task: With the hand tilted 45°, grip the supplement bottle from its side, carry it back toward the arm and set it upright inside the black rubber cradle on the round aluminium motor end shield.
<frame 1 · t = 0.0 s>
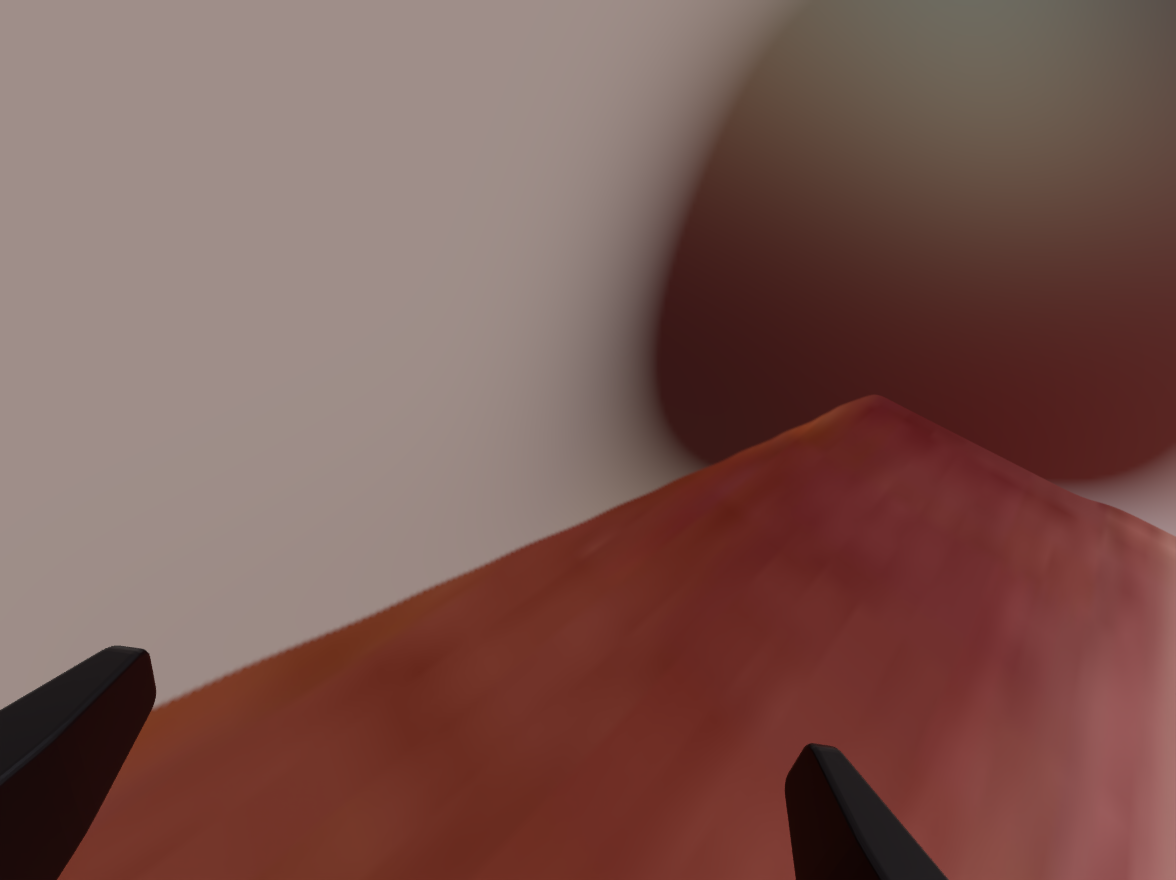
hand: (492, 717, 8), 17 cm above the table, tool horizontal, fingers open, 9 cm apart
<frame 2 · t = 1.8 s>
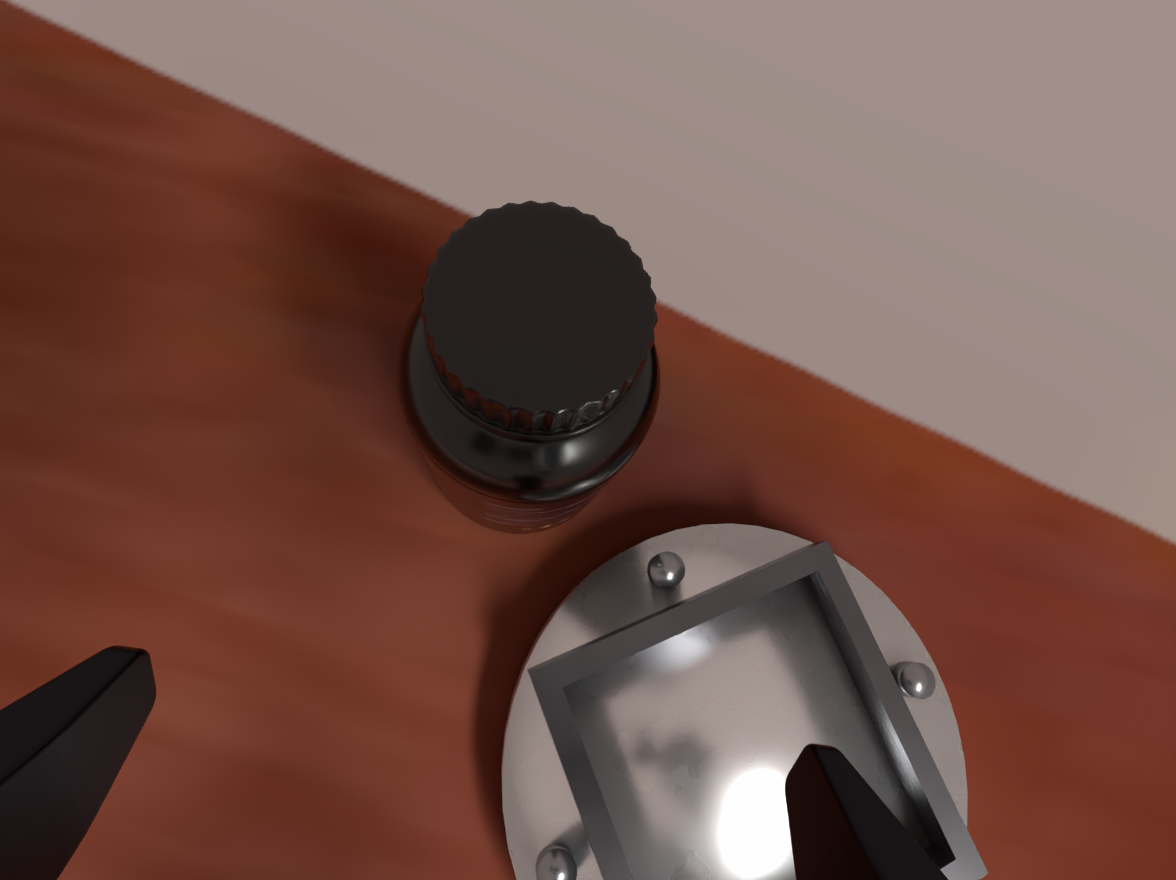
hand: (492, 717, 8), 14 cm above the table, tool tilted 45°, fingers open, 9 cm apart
motor end shield: (729, 755, 22), on the table
supplement bottle: (519, 451, 24), on the table
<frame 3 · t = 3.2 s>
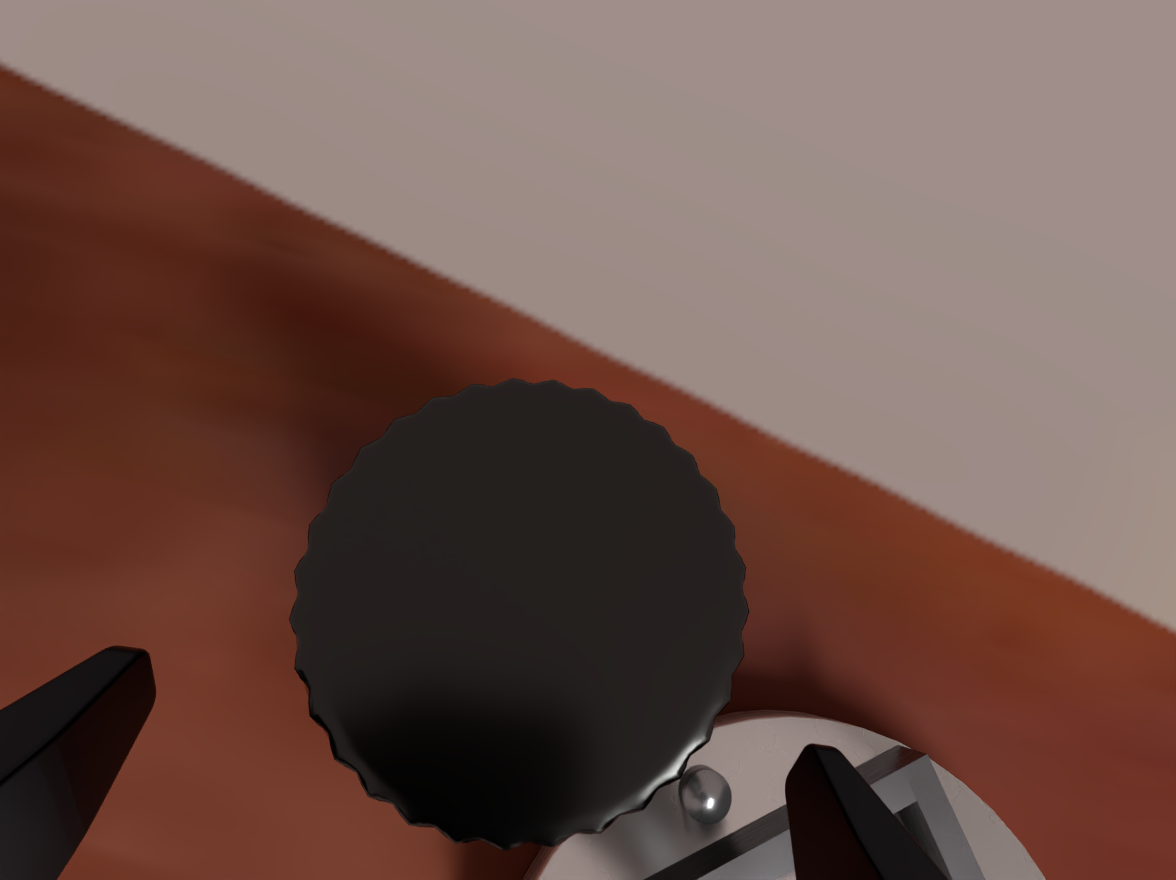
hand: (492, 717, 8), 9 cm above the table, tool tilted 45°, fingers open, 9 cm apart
supplement bottle: (507, 601, 18), on the table
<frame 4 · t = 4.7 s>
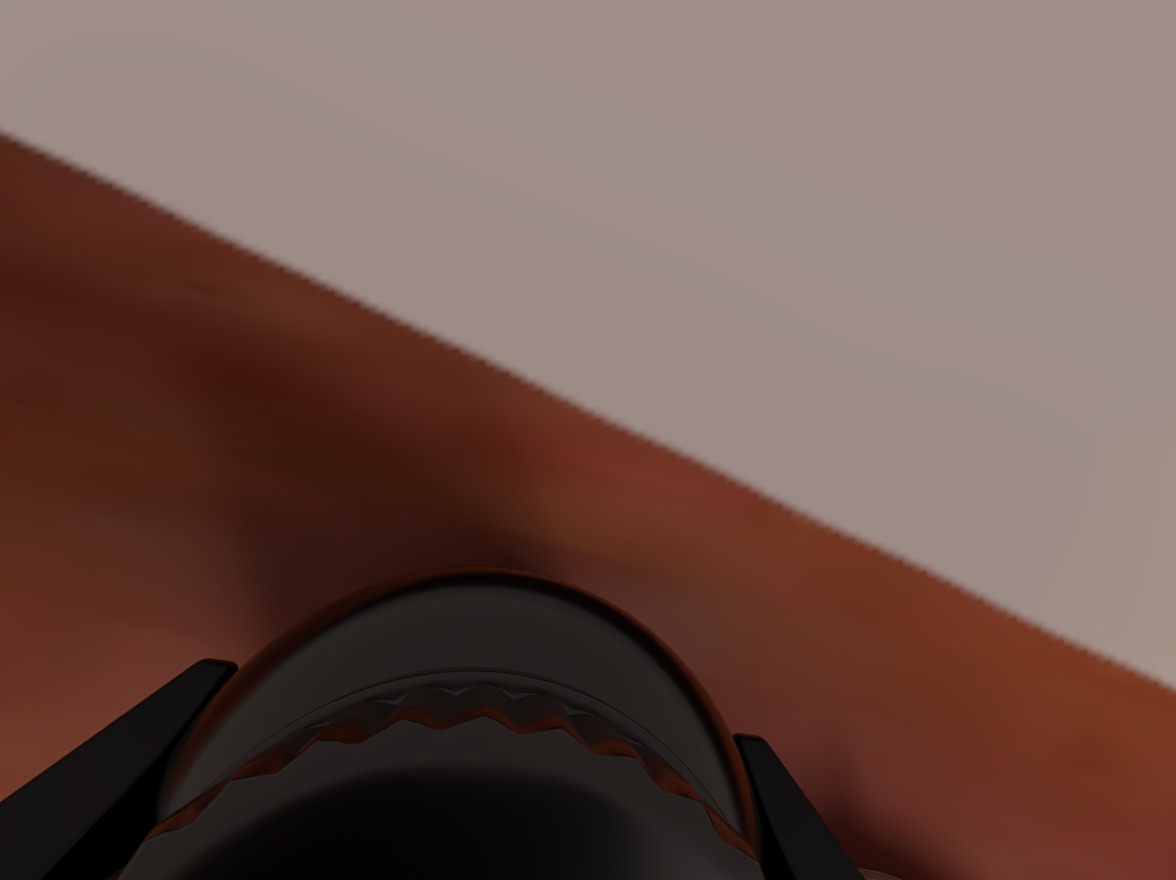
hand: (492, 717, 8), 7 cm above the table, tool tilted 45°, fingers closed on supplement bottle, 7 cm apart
supplement bottle: (479, 732, 14), on the table, touching gripper
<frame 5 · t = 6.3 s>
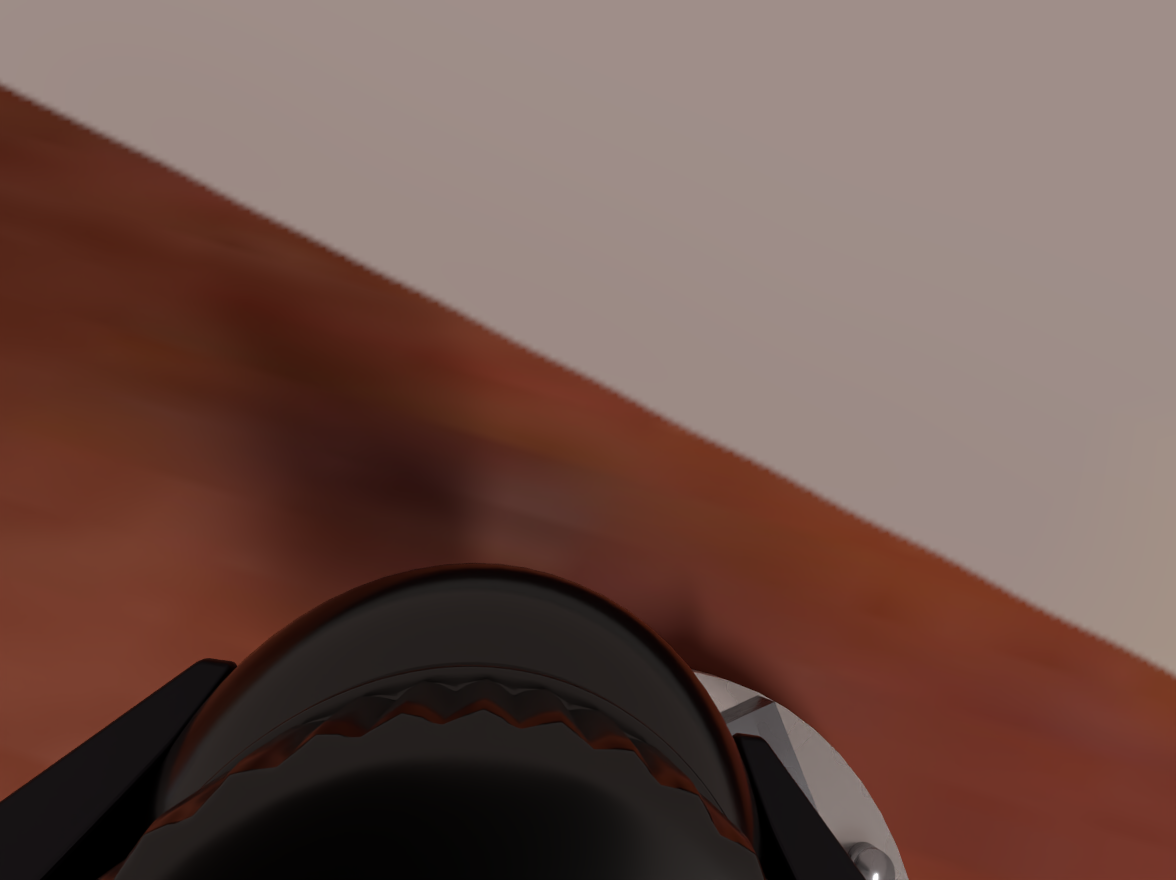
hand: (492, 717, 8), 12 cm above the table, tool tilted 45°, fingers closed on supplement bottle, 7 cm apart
supplement bottle: (478, 729, 15), point 5 cm above the table, touching gripper
when the fingers open (9 cm above the table, at t = 8.2 s): supplement bottle stays where it is, resting on motor end shield.
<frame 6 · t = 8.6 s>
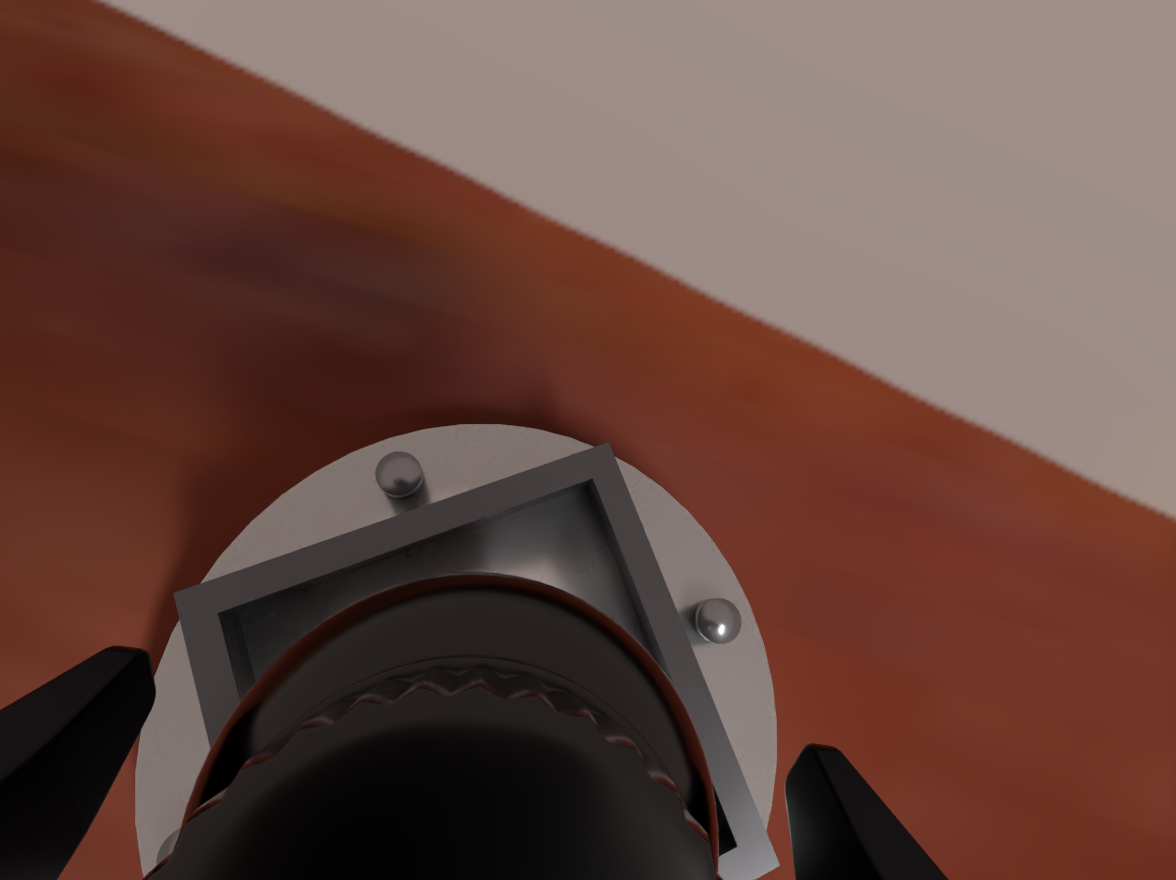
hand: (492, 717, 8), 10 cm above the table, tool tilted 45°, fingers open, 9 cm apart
motor end shield: (482, 712, 17), on the table
supplement bottle: (478, 721, 16), point 1 cm above the table, touching motor end shield
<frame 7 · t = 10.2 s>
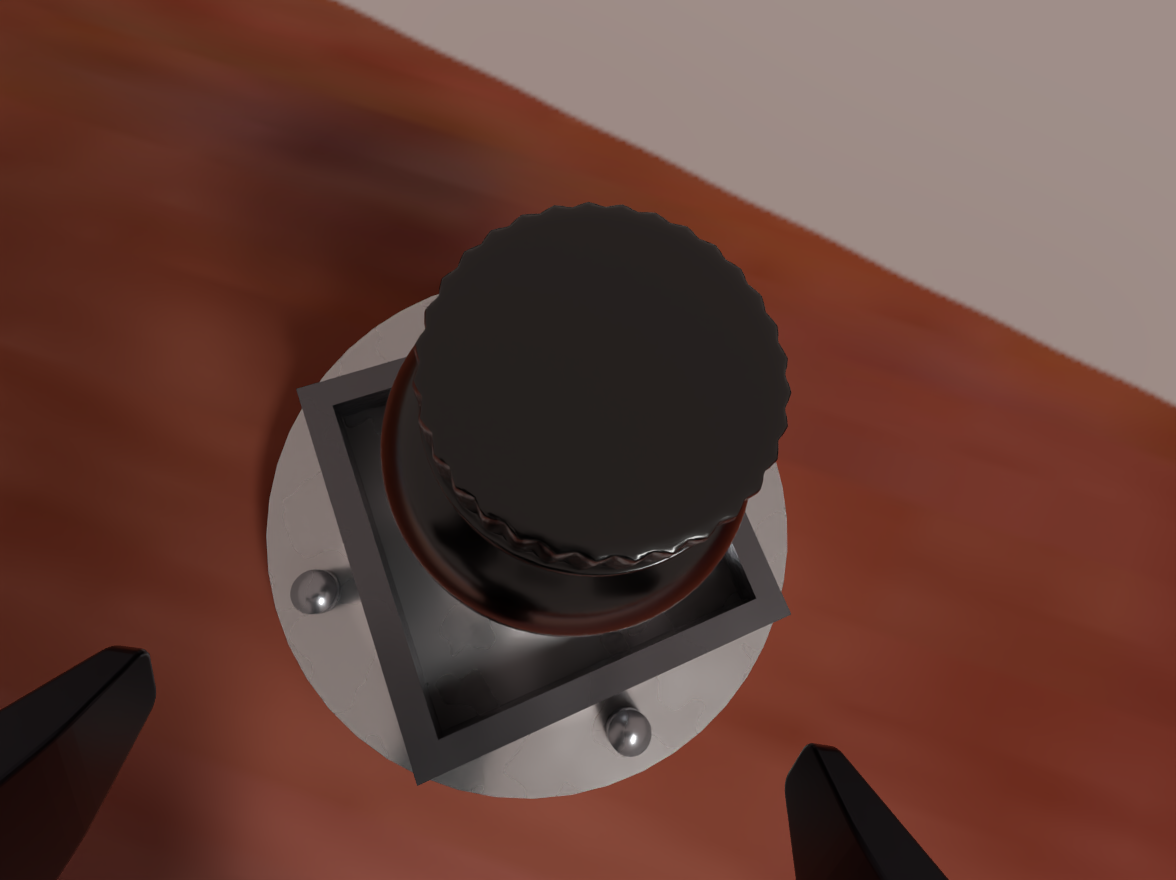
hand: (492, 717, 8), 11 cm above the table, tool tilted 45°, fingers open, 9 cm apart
motor end shield: (539, 516, 20), on the table
supplement bottle: (540, 510, 19), point 1 cm above the table, touching motor end shield
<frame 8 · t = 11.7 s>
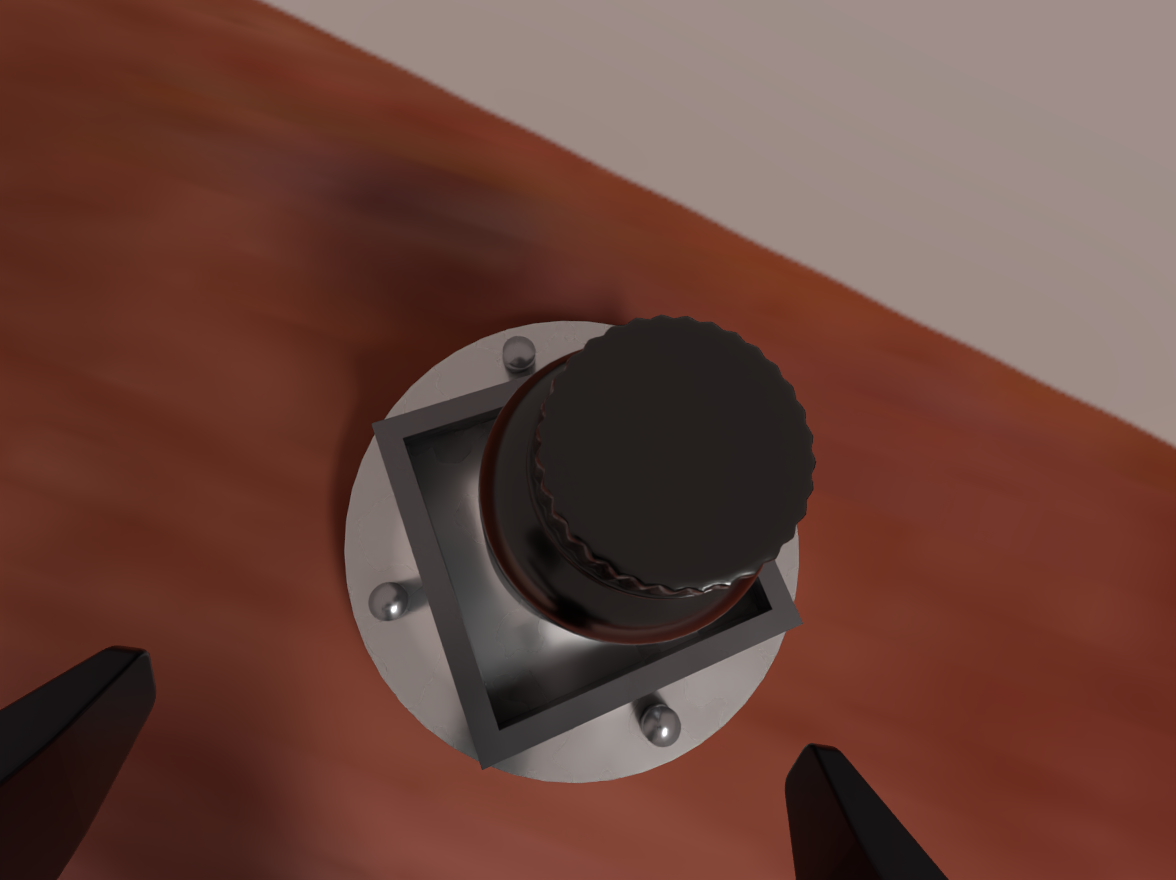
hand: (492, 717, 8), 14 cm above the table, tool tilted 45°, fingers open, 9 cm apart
motor end shield: (578, 534, 23), on the table
supplement bottle: (581, 530, 22), point 1 cm above the table, touching motor end shield
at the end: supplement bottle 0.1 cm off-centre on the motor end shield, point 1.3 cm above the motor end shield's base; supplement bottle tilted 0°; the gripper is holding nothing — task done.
